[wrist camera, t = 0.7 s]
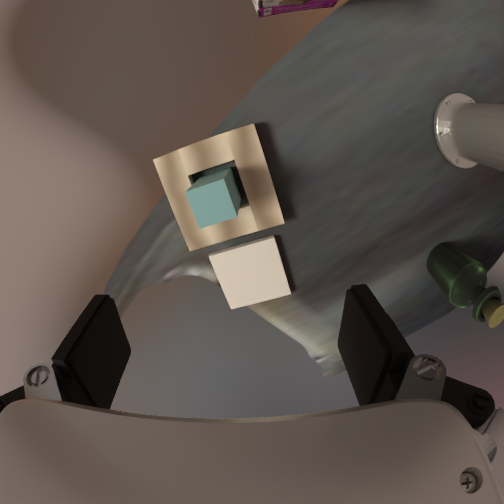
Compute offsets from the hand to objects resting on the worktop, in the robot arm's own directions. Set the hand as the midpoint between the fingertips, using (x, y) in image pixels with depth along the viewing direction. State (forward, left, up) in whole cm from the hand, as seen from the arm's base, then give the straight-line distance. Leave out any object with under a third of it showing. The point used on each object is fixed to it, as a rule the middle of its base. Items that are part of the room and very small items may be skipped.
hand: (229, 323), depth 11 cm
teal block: (+4, 0, -30) cm, 31 cm away
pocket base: (+4, 0, -30) cm, 31 cm away
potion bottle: (-29, +22, -31) cm, 47 cm away
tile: (+4, +14, -30) cm, 34 cm away
